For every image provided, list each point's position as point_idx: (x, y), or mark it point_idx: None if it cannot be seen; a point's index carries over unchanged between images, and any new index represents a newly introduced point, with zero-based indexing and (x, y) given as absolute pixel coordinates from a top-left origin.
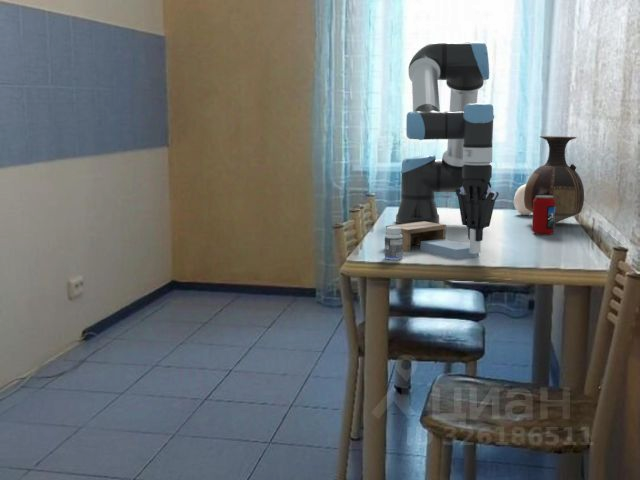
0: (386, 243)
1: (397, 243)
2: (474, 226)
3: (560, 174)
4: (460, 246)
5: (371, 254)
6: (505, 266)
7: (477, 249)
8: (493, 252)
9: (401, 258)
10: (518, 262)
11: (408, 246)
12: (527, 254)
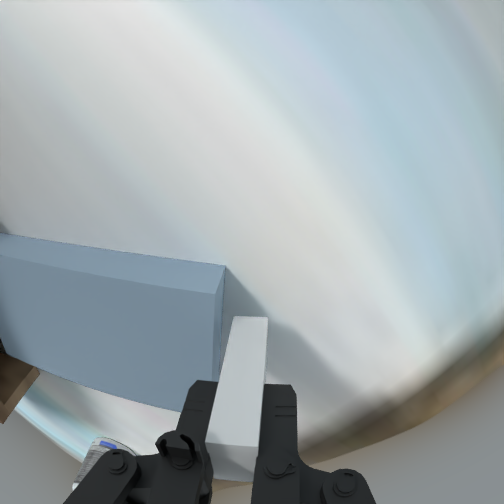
0: None
1: None
2: (208, 469)
3: None
4: (149, 355)
5: (55, 431)
6: (454, 351)
7: (266, 352)
8: (200, 106)
9: (132, 452)
10: (472, 251)
11: (29, 382)
12: (386, 11)
